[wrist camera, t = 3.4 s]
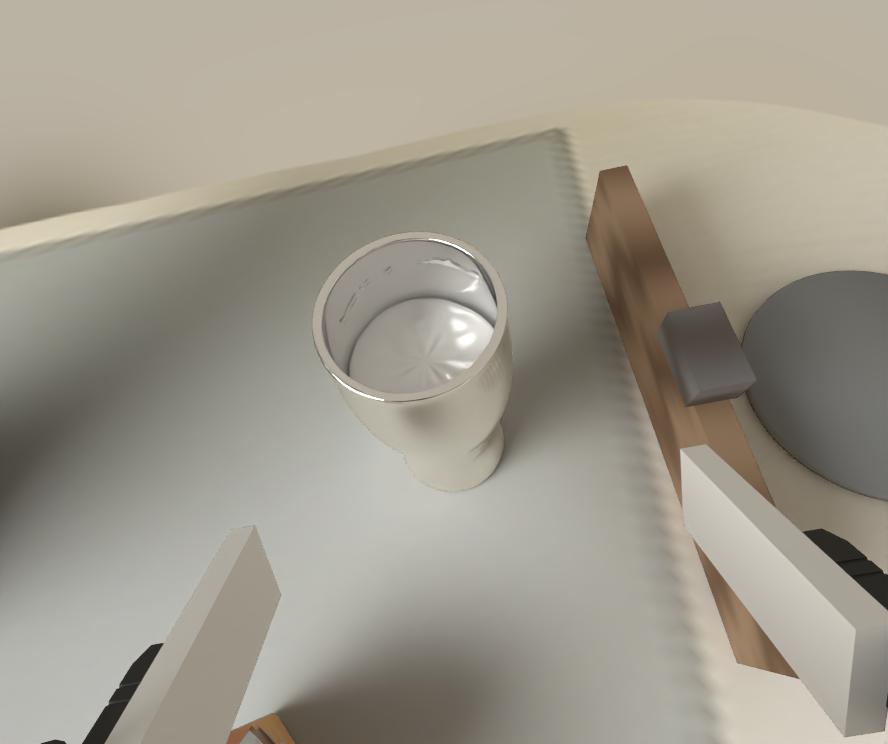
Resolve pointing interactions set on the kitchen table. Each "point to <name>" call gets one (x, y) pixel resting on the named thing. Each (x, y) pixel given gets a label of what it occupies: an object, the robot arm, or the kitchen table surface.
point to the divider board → (656, 382)
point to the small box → (261, 732)
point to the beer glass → (421, 352)
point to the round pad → (826, 375)
